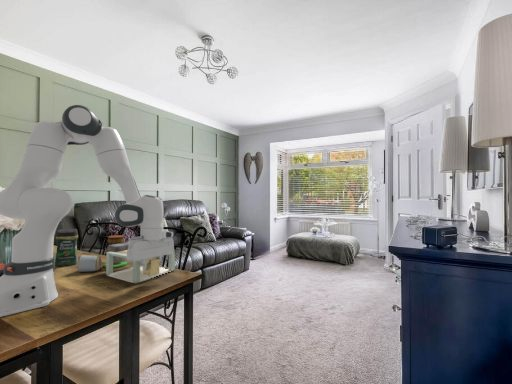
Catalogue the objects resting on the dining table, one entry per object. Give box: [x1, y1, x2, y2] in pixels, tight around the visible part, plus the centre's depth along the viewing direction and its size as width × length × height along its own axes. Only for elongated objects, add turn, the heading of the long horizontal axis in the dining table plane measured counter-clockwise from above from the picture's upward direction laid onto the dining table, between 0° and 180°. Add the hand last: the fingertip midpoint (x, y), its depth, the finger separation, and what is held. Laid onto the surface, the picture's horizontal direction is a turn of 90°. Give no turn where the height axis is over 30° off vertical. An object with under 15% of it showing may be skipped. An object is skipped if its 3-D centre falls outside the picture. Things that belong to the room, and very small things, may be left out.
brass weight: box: [143, 257, 161, 276], centre depth 110 cm, size 4×5×6 cm
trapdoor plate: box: [107, 242, 128, 258], centre depth 127 cm, size 16×24×5 cm
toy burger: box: [103, 234, 129, 269], centre depth 139 cm, size 12×13×15 cm
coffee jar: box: [54, 228, 79, 267], centre depth 140 cm, size 10×8×19 cm
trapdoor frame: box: [105, 248, 176, 284], centre depth 125 cm, size 21×21×10 cm
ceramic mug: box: [77, 254, 102, 273], centre depth 130 cm, size 11×8×8 cm
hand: (151, 268), depth 110 cm, fingers closed on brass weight, 4 cm apart
